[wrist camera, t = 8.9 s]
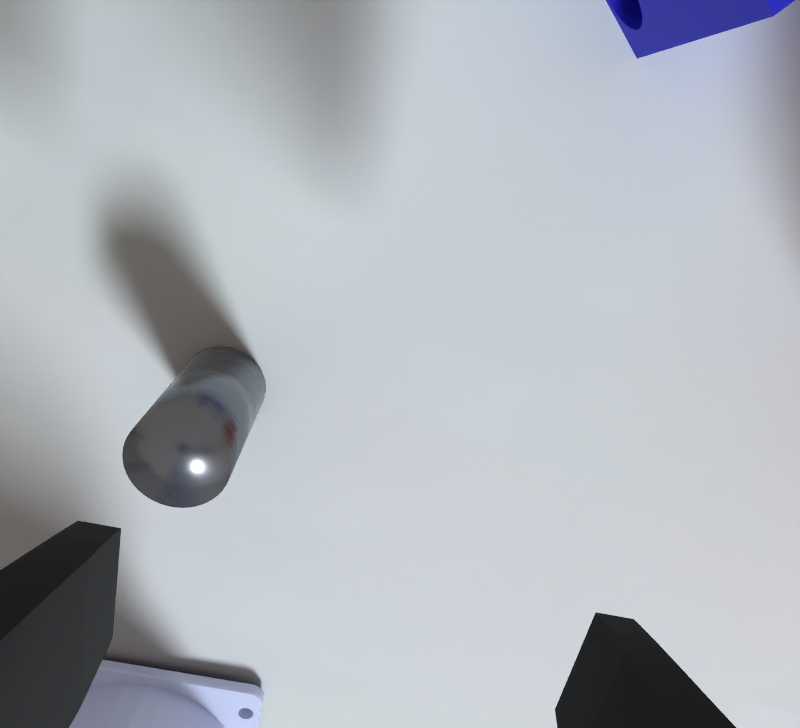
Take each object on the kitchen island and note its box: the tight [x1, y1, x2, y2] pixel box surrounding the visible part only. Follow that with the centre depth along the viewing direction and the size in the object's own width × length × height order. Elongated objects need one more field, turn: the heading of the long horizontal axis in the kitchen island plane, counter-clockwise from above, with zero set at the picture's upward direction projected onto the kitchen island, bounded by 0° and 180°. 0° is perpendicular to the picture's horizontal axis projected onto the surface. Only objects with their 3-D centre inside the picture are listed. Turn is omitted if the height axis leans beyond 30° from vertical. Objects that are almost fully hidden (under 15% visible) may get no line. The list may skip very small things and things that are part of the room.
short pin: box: [123, 347, 266, 508], centre depth 16 cm, size 2×2×4 cm
